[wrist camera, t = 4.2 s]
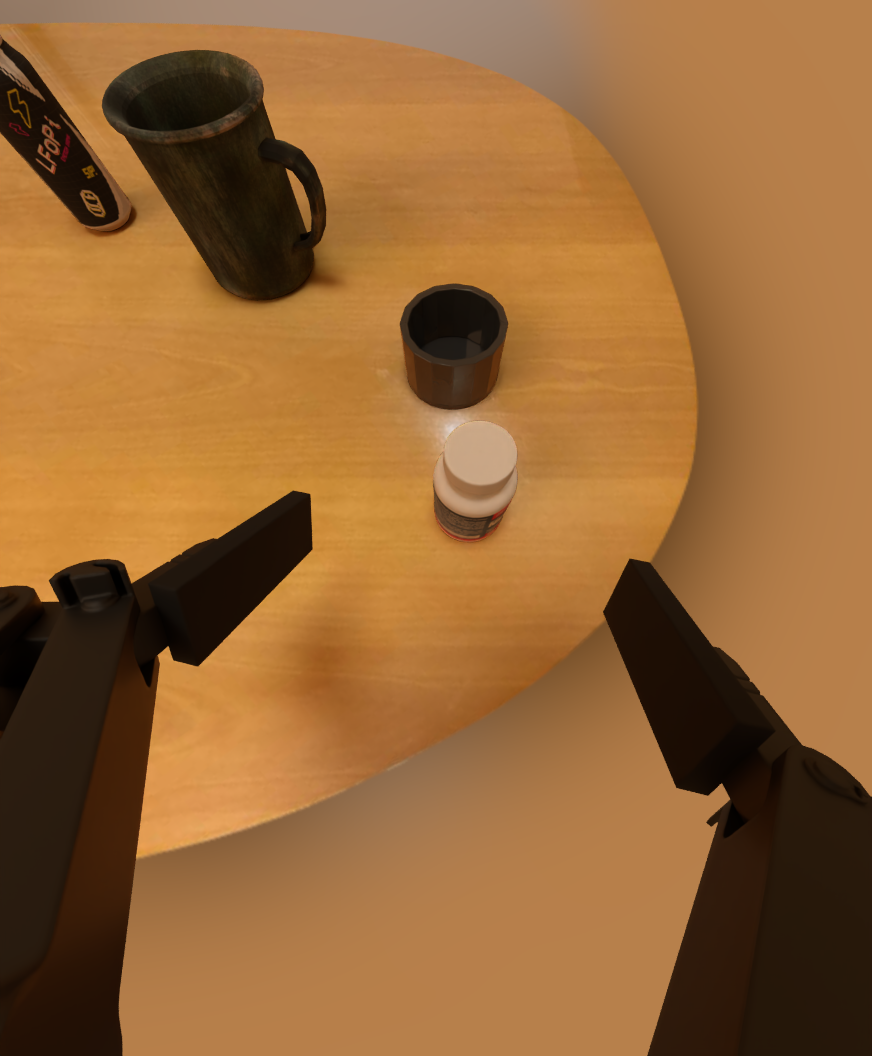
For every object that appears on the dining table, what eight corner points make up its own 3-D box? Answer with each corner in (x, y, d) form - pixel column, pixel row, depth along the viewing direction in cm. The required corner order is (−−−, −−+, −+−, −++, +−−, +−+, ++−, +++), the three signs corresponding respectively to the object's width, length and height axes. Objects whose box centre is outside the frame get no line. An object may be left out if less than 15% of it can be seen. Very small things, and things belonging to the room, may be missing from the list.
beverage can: (146, 206, 38) (19, 23, 27) (120, 240, 37) (-27, 60, 25) (102, 199, 39) (-41, 17, 27) (75, 232, 37) (-90, 53, 26)
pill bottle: (491, 551, 25) (516, 510, 17) (426, 532, 26) (418, 482, 17) (508, 490, 27) (539, 423, 18) (446, 473, 27) (448, 400, 19)
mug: (243, 223, 37) (154, 40, 26) (365, 249, 35) (328, 66, 24) (193, 293, 34) (66, 119, 22) (324, 325, 32) (259, 156, 21)
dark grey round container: (503, 343, 31) (514, 291, 26) (488, 416, 29) (498, 374, 24) (418, 330, 32) (414, 277, 27) (397, 400, 29) (388, 355, 25)
